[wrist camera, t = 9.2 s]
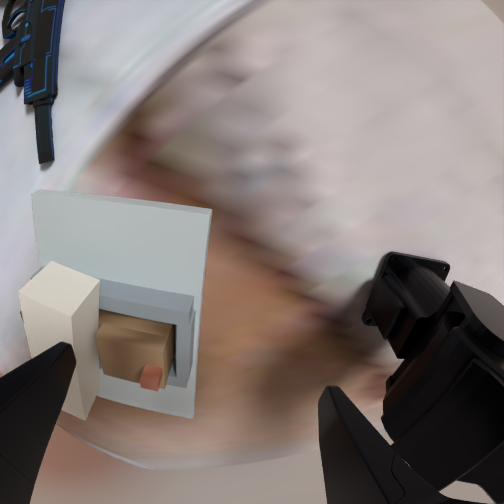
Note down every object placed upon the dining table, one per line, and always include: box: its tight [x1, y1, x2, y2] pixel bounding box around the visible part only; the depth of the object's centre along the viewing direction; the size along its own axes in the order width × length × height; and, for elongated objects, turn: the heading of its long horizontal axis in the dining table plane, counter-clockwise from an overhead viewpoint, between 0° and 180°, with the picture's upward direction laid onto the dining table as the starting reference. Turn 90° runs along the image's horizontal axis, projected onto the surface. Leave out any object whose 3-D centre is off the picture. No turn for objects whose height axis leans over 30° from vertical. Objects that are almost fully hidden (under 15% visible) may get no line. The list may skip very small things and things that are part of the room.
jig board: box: [31, 189, 212, 419], centre depth 21 cm, size 14×22×3 cm, turn 171°
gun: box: [0, 0, 65, 164], centre depth 12 cm, size 24×3×15 cm
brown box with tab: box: [20, 309, 175, 391], centre depth 19 cm, size 12×4×6 cm, turn 81°
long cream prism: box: [19, 261, 100, 421], centre depth 17 cm, size 4×12×4 cm, turn 161°
